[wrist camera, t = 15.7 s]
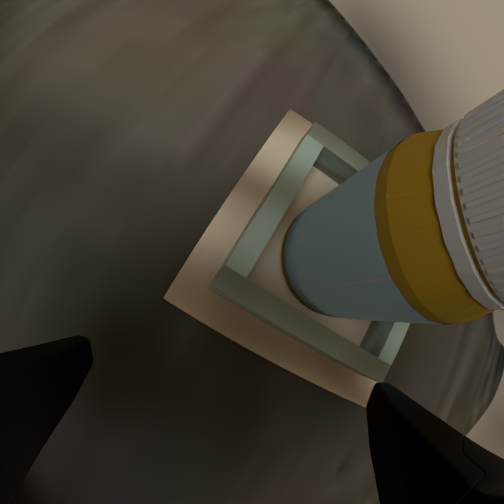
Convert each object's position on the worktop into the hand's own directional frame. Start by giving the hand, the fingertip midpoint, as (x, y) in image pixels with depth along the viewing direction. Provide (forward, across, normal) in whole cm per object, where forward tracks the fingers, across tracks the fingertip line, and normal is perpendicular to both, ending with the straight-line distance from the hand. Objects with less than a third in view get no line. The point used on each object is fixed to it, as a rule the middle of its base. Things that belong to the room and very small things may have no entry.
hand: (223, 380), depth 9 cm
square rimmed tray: (+12, -5, -1) cm, 13 cm away
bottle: (+12, -4, -1) cm, 13 cm away
